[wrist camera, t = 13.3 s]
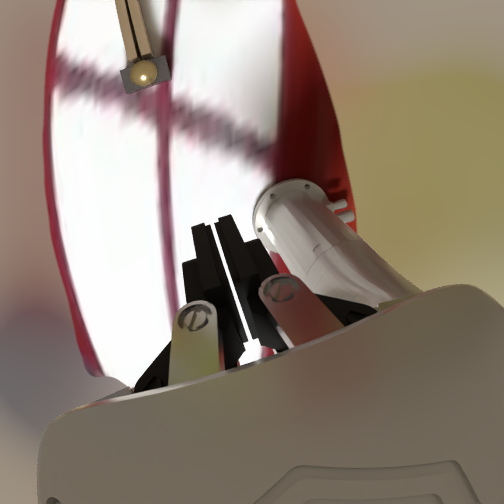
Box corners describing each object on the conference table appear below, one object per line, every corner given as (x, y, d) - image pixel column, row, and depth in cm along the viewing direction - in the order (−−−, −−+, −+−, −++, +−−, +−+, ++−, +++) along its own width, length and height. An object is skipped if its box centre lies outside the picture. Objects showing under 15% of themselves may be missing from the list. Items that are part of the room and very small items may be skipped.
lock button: (154, 58, 23) (153, 56, 22) (160, 81, 25) (159, 80, 24) (129, 67, 23) (126, 65, 22) (135, 89, 25) (133, 89, 23)
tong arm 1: (129, -41, 17) (124, -56, 13) (153, 57, 26) (150, 52, 22) (121, -38, 16) (116, -53, 12) (145, 60, 26) (141, 55, 22)
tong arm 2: (121, -38, 16) (115, -53, 12) (142, 61, 26) (137, 57, 22) (113, -35, 16) (106, -50, 12) (134, 64, 26) (128, 60, 22)
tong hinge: (165, 58, 27) (164, 54, 24) (171, 79, 29) (171, 78, 25) (125, 72, 27) (119, 70, 23) (131, 93, 28) (125, 94, 25)
